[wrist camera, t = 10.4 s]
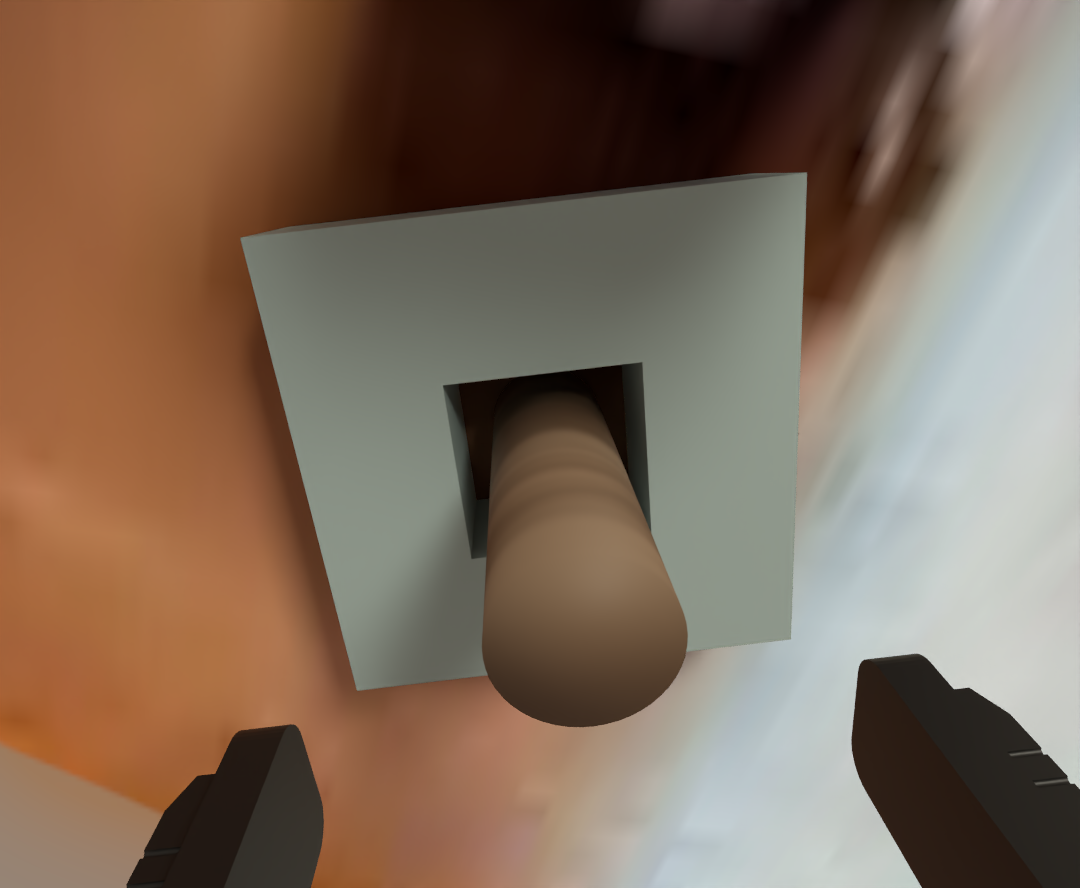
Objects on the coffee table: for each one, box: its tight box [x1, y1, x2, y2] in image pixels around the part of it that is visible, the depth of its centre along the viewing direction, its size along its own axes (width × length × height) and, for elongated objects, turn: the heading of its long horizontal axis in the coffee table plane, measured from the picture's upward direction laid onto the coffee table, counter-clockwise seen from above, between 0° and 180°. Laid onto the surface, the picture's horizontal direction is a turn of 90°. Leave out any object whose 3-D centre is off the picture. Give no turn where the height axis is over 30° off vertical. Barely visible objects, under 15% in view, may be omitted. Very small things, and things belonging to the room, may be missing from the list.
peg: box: [482, 371, 688, 727], centre depth 17 cm, size 4×4×12 cm
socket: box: [240, 173, 807, 691], centre depth 21 cm, size 14×14×4 cm
